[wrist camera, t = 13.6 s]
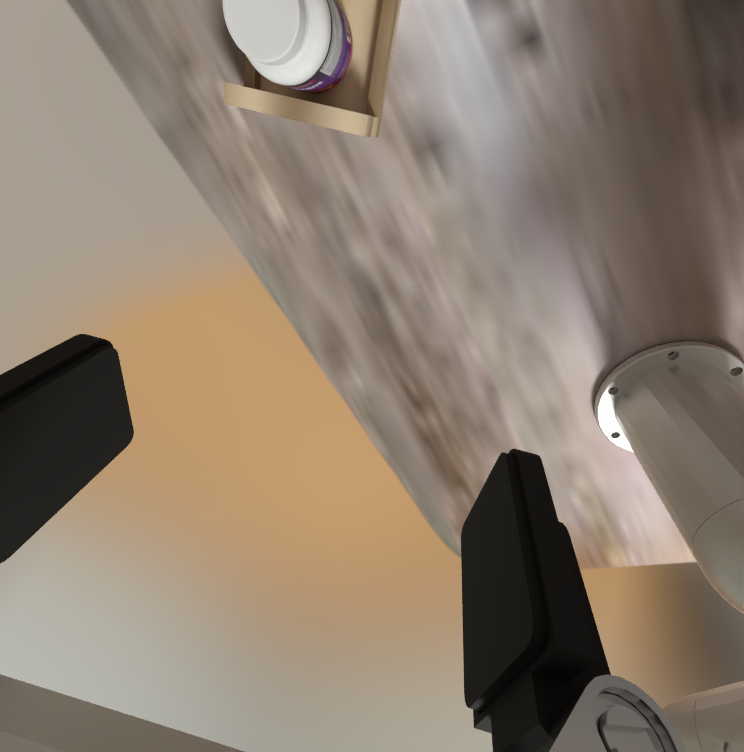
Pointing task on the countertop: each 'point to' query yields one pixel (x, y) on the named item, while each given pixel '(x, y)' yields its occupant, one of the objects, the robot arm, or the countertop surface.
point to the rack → (353, 96)
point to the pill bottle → (293, 41)
